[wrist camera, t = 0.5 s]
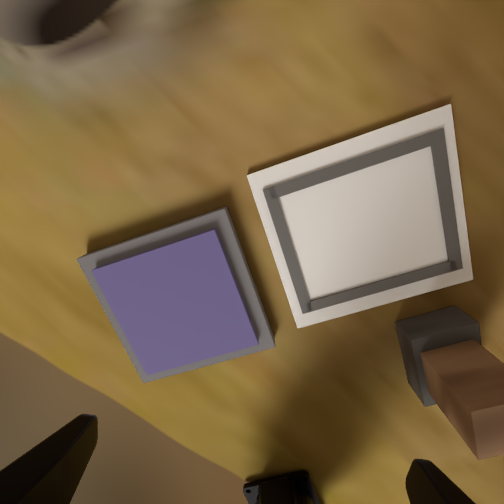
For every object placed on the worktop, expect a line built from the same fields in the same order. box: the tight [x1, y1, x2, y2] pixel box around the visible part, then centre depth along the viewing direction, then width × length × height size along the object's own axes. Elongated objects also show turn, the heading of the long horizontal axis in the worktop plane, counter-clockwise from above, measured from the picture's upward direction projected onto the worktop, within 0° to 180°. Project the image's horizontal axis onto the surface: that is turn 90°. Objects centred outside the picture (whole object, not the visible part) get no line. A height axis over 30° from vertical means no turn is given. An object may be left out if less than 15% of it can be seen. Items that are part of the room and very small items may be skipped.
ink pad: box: [77, 206, 275, 383], centre depth 21 cm, size 11×11×2 cm
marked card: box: [247, 104, 473, 328], centre depth 20 cm, size 12×13×1 cm
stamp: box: [395, 306, 504, 460], centre depth 19 cm, size 6×4×8 cm
